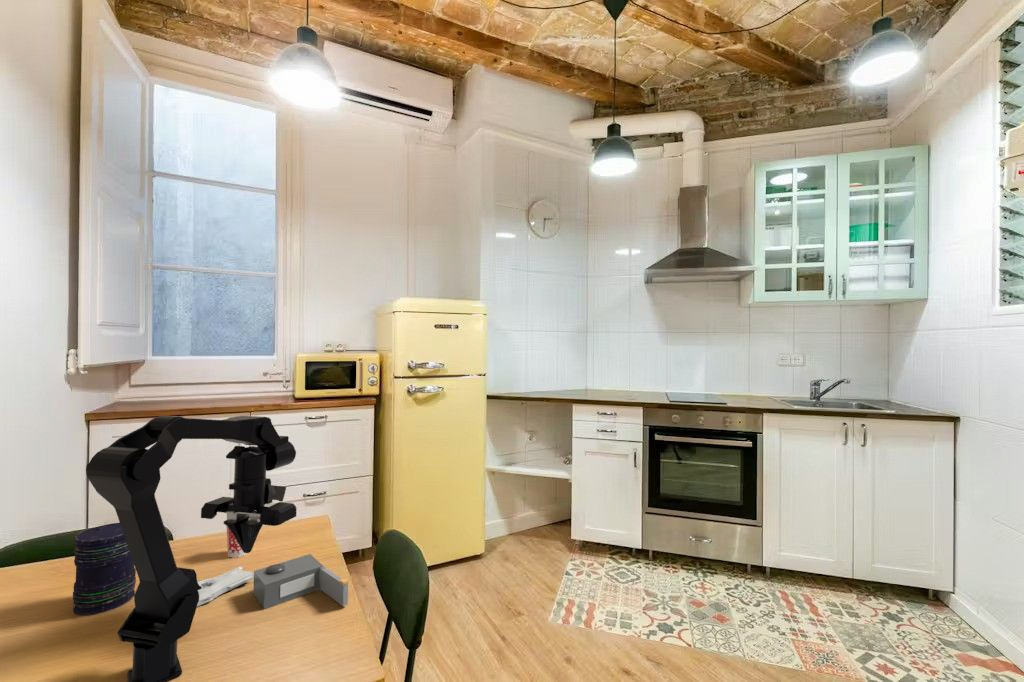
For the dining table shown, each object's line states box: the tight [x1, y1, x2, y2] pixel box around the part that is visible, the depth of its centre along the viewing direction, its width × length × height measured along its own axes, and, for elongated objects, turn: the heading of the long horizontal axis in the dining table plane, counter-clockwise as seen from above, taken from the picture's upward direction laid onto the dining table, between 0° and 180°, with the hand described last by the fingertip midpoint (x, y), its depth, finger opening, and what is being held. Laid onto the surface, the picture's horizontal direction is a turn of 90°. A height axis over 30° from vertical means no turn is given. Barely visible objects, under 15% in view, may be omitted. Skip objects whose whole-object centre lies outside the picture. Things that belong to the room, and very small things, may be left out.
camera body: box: [253, 553, 324, 610], centre depth 98 cm, size 8×12×6 cm
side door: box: [319, 565, 349, 607], centre depth 96 cm, size 1×11×5 cm, turn 49°
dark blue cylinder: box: [72, 522, 137, 617], centre depth 93 cm, size 10×10×15 cm
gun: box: [196, 566, 254, 608], centre depth 96 cm, size 18×4×10 cm
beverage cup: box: [225, 525, 247, 558], centre depth 116 cm, size 6×6×14 cm
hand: (247, 552), depth 91 cm, fingers closed
